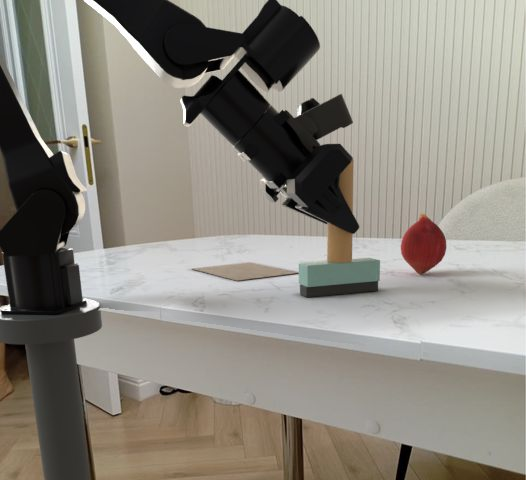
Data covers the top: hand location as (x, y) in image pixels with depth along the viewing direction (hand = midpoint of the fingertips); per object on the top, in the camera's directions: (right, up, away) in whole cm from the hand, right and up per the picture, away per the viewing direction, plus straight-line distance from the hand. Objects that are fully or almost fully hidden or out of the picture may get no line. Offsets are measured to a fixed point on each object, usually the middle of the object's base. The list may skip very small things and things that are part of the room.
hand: (351, 229), depth 66 cm
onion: (+11, -4, +13) cm, 18 cm away
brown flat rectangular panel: (-13, -2, +20) cm, 24 cm away
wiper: (-1, -7, +2) cm, 7 cm away
